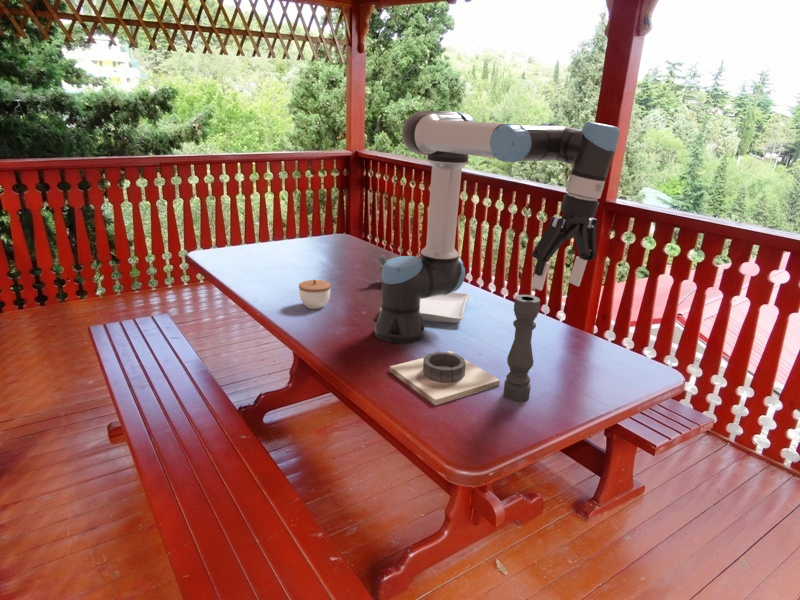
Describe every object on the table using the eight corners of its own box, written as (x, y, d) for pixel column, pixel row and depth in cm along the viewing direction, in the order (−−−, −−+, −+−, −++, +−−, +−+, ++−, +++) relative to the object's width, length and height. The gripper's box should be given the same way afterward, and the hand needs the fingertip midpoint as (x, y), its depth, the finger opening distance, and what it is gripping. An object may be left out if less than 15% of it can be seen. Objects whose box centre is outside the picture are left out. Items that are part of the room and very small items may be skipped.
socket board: (389, 371, 142) (390, 354, 140) (450, 355, 153) (451, 339, 151) (435, 405, 126) (436, 386, 125) (499, 385, 137) (501, 367, 135)
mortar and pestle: (396, 278, 221) (397, 249, 217) (409, 285, 214) (410, 255, 210) (372, 282, 216) (373, 252, 212) (384, 288, 208) (385, 258, 204)
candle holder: (525, 389, 135) (537, 294, 127) (532, 402, 129) (544, 303, 121) (500, 389, 135) (511, 293, 127) (506, 402, 129) (517, 302, 121)
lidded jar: (335, 308, 186) (335, 282, 183) (305, 313, 181) (305, 286, 177) (323, 299, 194) (323, 273, 191) (294, 303, 189) (294, 277, 186)
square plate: (461, 329, 173) (462, 317, 172) (378, 320, 178) (378, 309, 176) (468, 302, 198) (469, 291, 197) (395, 294, 203) (395, 284, 202)
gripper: (559, 199, 109) (531, 296, 117) (629, 202, 124) (600, 288, 132) (531, 190, 115) (507, 283, 123) (601, 193, 129) (576, 276, 137)
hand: (555, 286), depth 127 cm, fingers open, 13 cm apart
